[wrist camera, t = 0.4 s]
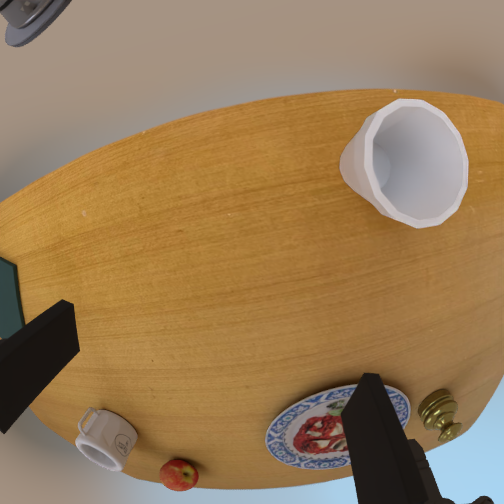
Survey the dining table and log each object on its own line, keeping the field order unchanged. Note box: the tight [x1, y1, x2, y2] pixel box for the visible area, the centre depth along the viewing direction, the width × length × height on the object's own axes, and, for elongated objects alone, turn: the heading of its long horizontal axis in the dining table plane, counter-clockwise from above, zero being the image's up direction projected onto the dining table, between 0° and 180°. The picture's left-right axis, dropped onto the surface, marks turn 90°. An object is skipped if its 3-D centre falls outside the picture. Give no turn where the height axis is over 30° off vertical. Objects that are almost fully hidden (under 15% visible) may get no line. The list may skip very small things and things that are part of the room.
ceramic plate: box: [265, 384, 411, 469], centre depth 37 cm, size 26×26×3 cm
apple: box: [159, 460, 199, 491], centre depth 42 cm, size 8×8×8 cm
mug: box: [76, 407, 138, 471], centre depth 39 cm, size 14×11×10 cm
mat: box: [0, 257, 25, 339], centre depth 38 cm, size 22×16×1 cm
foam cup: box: [340, 99, 468, 229], centre depth 22 cm, size 10×9×13 cm
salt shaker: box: [418, 389, 462, 443], centre depth 32 cm, size 7×7×10 cm
